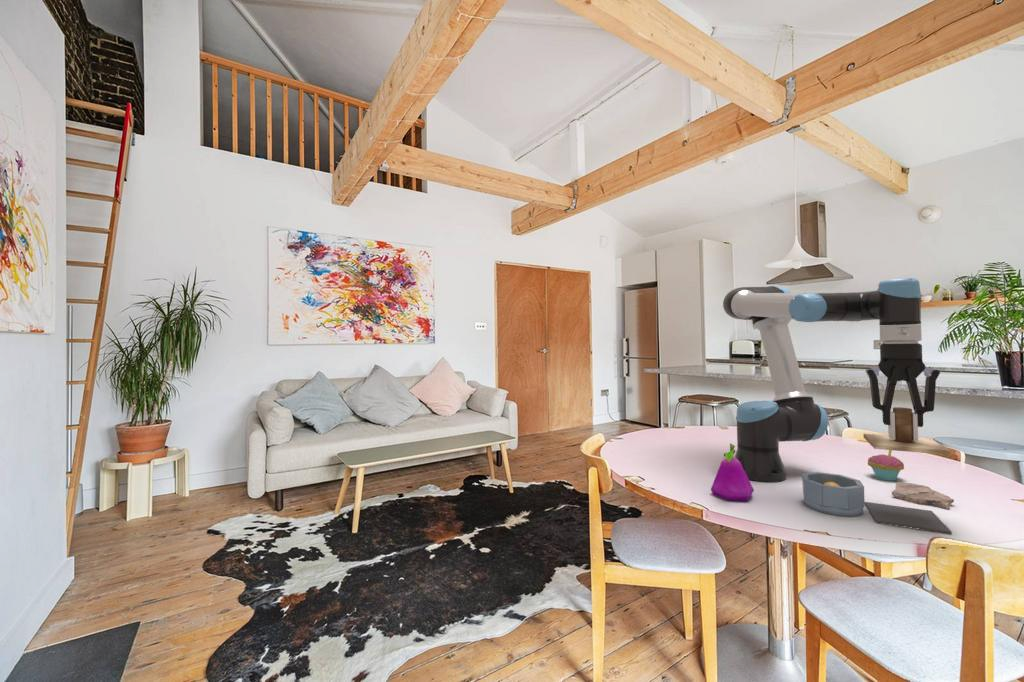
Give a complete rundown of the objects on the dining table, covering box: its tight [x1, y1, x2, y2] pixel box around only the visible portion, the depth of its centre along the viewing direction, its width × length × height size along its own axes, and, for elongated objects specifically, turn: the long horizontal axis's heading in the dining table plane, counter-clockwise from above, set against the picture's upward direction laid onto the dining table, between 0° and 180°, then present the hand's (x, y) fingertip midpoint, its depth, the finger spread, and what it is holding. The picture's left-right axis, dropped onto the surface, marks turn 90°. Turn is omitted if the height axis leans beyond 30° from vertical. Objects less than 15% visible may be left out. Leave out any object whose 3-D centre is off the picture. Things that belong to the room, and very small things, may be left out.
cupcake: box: [867, 450, 905, 482], centre depth 131 cm, size 9×8×12 cm
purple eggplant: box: [710, 443, 755, 502], centre depth 120 cm, size 11×11×15 cm
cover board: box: [863, 407, 951, 456], centre depth 103 cm, size 13×13×9 cm
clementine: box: [824, 482, 839, 486], centre depth 111 cm, size 4×4×4 cm
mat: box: [864, 501, 953, 535], centre depth 103 cm, size 13×13×1 cm
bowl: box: [801, 471, 866, 518], centre depth 111 cm, size 12×12×7 cm
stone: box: [891, 481, 955, 510], centre depth 115 cm, size 12×12×3 cm
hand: (902, 439), depth 103 cm, fingers closed on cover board, 3 cm apart
